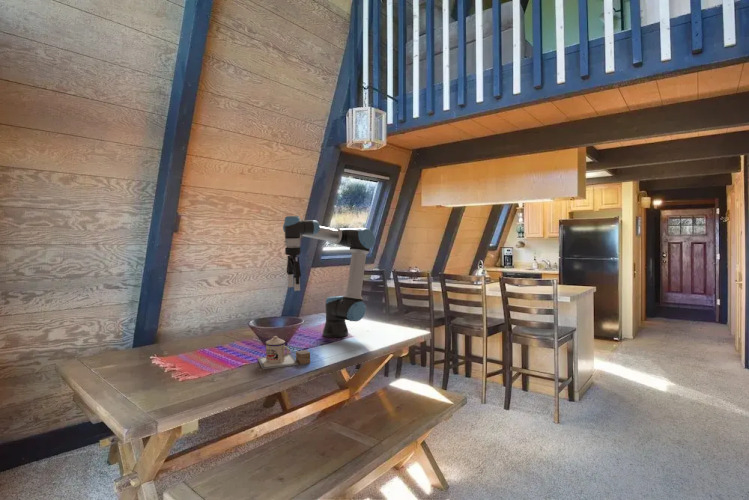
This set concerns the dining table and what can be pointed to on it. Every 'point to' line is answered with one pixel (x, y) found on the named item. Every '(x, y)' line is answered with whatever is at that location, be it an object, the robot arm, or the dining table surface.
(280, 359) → the teacup with lid
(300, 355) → the walnut block
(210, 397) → the dining table surface
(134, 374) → the dining table surface
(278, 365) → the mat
